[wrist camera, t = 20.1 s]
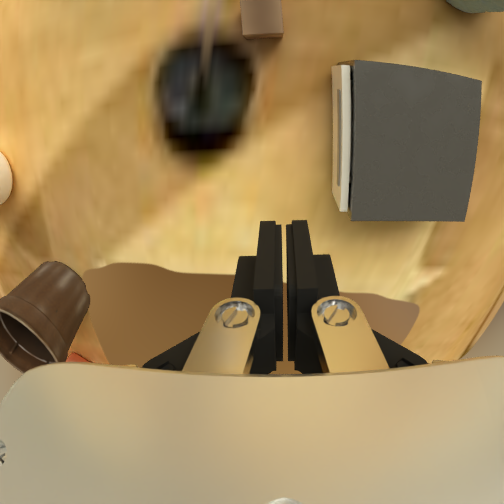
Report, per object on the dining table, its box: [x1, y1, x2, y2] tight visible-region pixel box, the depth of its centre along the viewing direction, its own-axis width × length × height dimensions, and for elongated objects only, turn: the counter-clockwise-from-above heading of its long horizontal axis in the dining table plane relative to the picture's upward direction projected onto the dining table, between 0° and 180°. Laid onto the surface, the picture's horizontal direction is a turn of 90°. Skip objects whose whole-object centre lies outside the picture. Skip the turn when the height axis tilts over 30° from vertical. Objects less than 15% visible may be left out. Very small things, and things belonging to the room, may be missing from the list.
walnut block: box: [240, 0, 284, 39], centre depth 26 cm, size 4×4×4 cm
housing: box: [338, 60, 482, 222], centre depth 30 cm, size 14×16×8 cm
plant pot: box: [0, 261, 90, 374], centre depth 44 cm, size 16×16×16 cm
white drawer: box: [332, 65, 353, 212], centre depth 30 cm, size 13×15×6 cm
